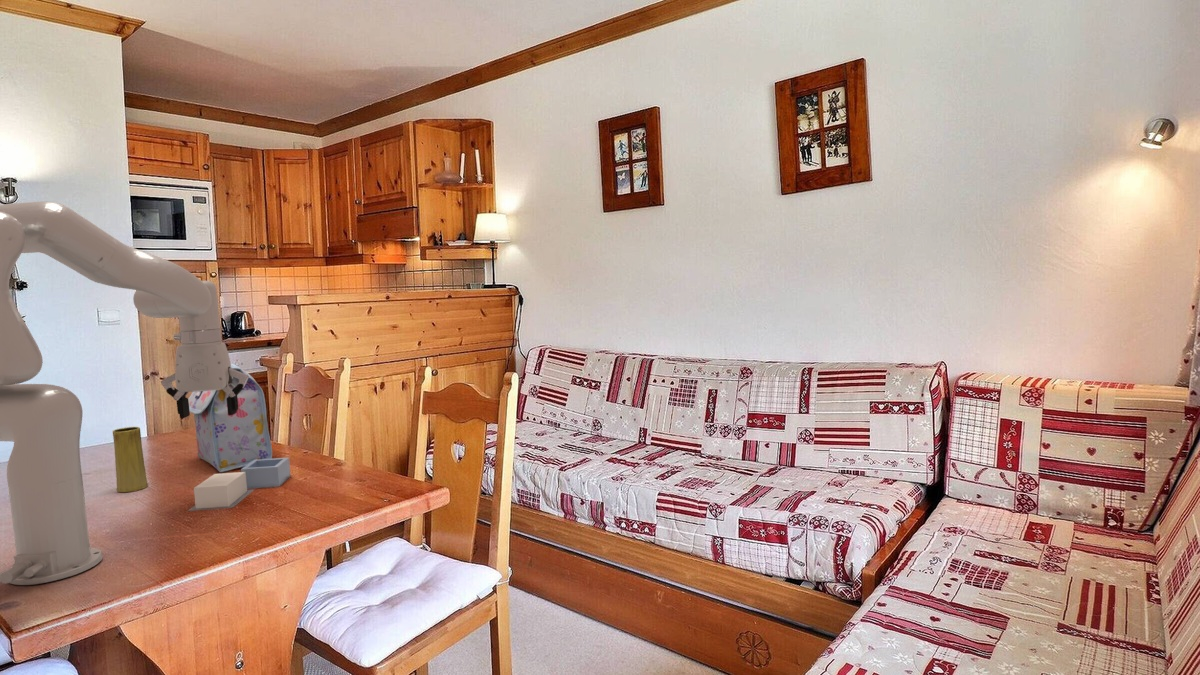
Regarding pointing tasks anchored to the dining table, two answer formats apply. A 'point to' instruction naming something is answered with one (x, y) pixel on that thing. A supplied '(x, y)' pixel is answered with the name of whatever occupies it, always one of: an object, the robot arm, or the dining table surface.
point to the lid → (220, 490)
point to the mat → (227, 506)
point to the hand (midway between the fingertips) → (208, 415)
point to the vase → (129, 460)
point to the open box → (267, 472)
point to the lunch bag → (231, 426)
